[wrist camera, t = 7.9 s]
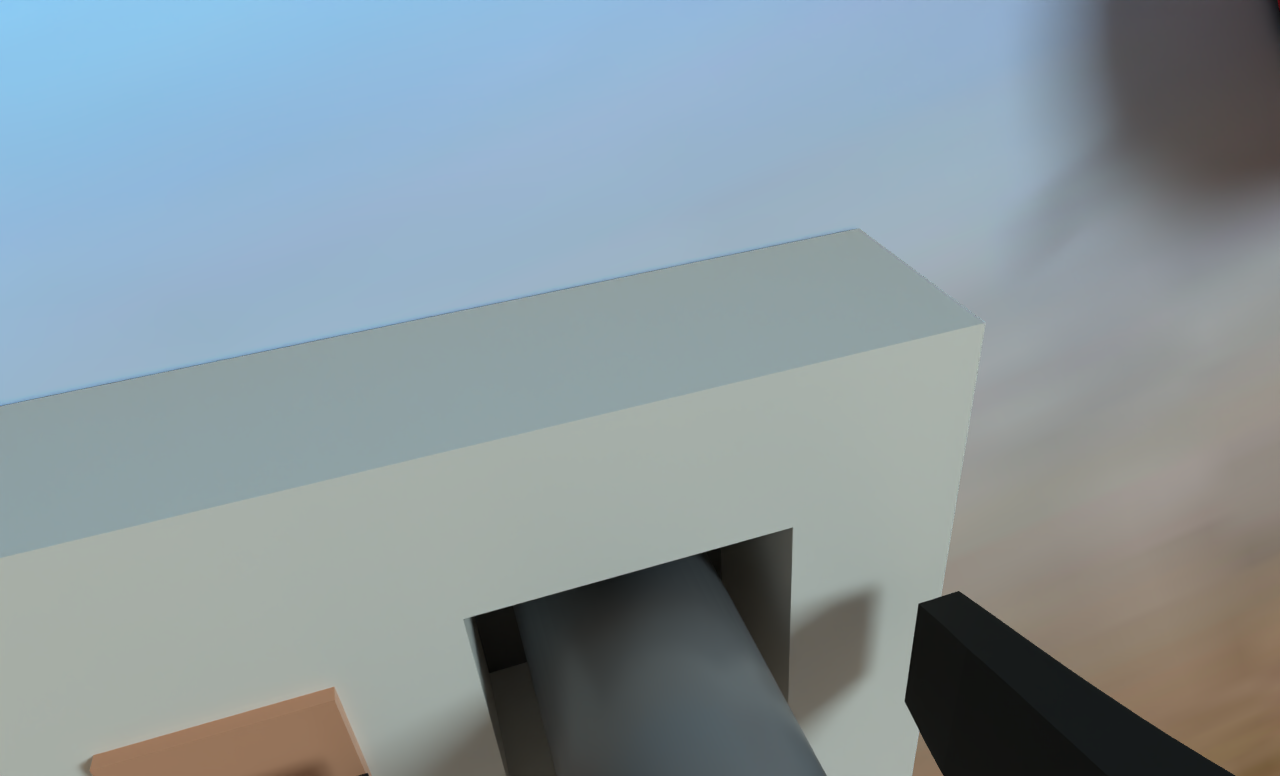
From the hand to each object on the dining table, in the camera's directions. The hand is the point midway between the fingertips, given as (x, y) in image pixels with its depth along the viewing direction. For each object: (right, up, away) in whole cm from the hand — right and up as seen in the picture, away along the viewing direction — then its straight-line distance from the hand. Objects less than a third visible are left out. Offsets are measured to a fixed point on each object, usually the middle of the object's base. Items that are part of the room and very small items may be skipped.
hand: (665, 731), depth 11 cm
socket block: (-2, -2, +5) cm, 6 cm away
